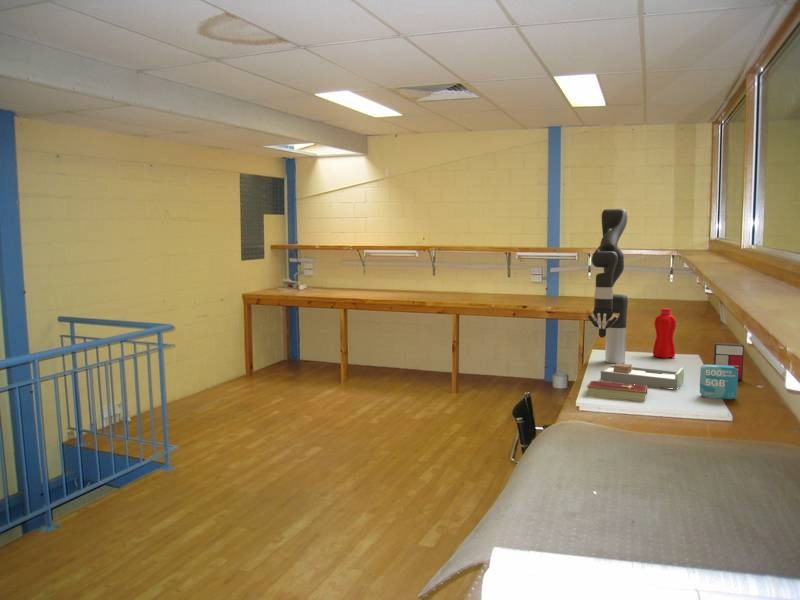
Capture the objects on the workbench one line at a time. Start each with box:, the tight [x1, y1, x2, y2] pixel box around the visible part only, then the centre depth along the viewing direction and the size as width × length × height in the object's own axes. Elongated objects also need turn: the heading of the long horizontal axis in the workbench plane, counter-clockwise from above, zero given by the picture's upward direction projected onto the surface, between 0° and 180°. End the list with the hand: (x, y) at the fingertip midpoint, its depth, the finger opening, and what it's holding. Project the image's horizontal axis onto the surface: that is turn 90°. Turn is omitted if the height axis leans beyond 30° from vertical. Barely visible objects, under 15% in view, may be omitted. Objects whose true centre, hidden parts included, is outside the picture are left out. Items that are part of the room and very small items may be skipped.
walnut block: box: [613, 363, 633, 374], centre depth 267 cm, size 6×6×3 cm
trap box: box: [599, 364, 685, 390], centre depth 263 cm, size 17×30×6 cm, turn 57°
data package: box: [699, 364, 739, 400], centre depth 235 cm, size 12×4×12 cm, turn 76°
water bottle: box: [652, 307, 677, 359], centre depth 318 cm, size 9×11×25 cm
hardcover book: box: [586, 380, 648, 402], centre depth 239 cm, size 12×21×4 cm, turn 65°
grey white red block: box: [712, 342, 745, 381], centre depth 267 cm, size 11×4×15 cm, turn 70°
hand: (602, 337), depth 270 cm, fingers closed
